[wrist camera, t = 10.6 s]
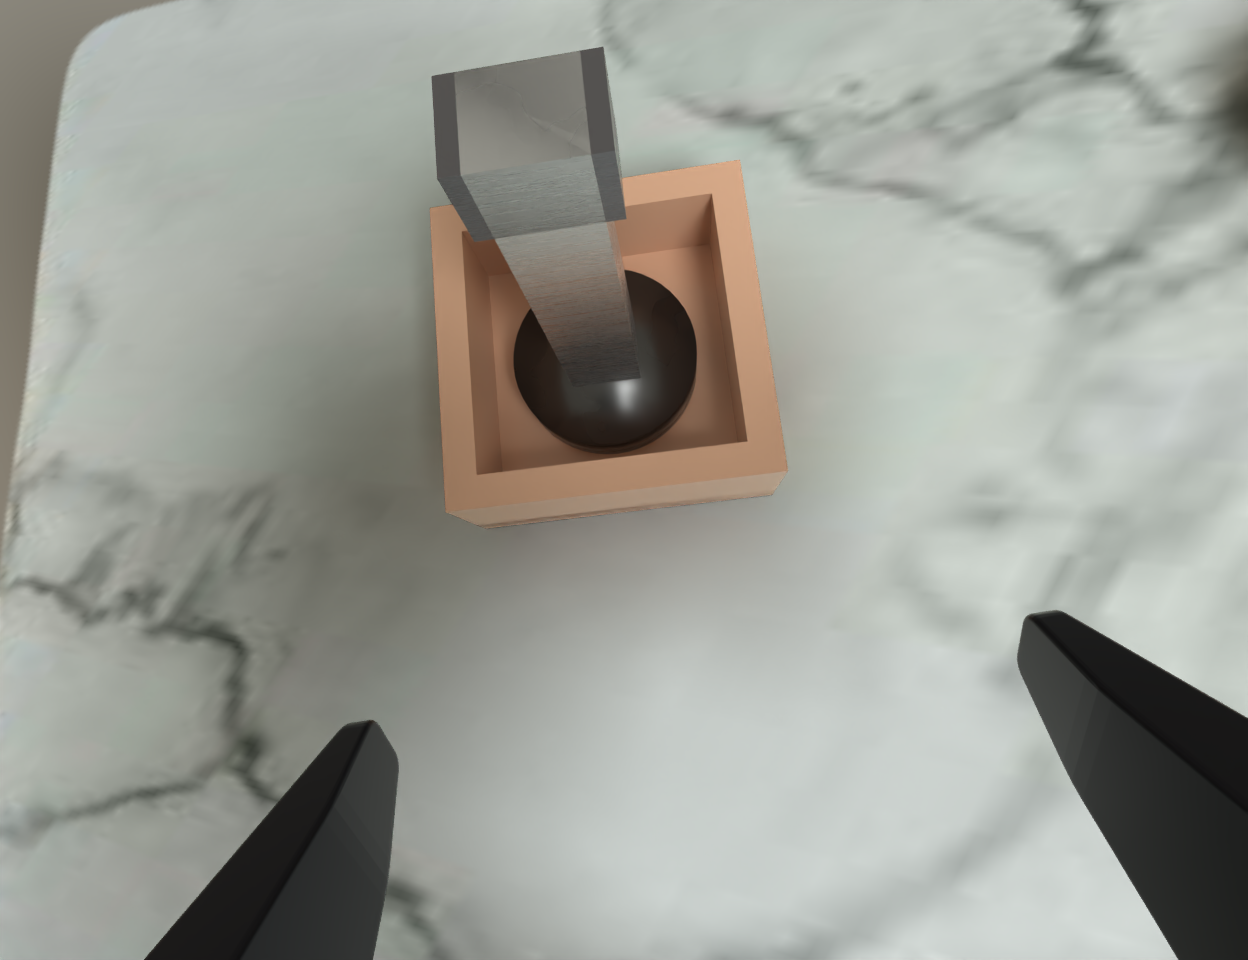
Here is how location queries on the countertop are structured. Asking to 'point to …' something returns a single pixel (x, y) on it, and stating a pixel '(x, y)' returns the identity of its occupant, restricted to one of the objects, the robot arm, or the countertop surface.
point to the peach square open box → (696, 444)
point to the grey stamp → (565, 247)
